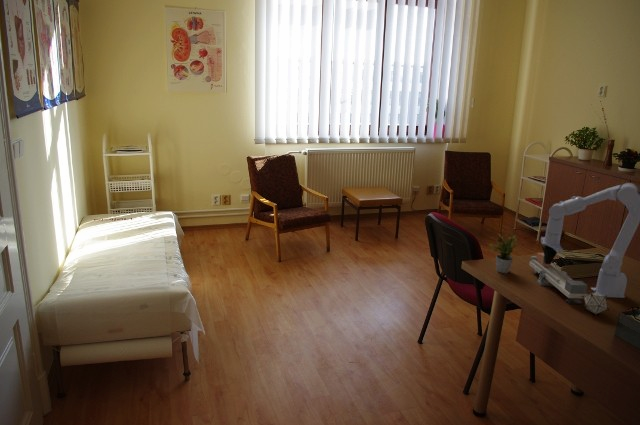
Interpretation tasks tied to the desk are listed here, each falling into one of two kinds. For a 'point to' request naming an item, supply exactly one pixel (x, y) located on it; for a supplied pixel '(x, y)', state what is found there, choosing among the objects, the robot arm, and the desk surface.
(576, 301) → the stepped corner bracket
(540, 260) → the block
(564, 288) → the beam
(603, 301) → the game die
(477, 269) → the desk surface
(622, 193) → the robot arm
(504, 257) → the house plant
